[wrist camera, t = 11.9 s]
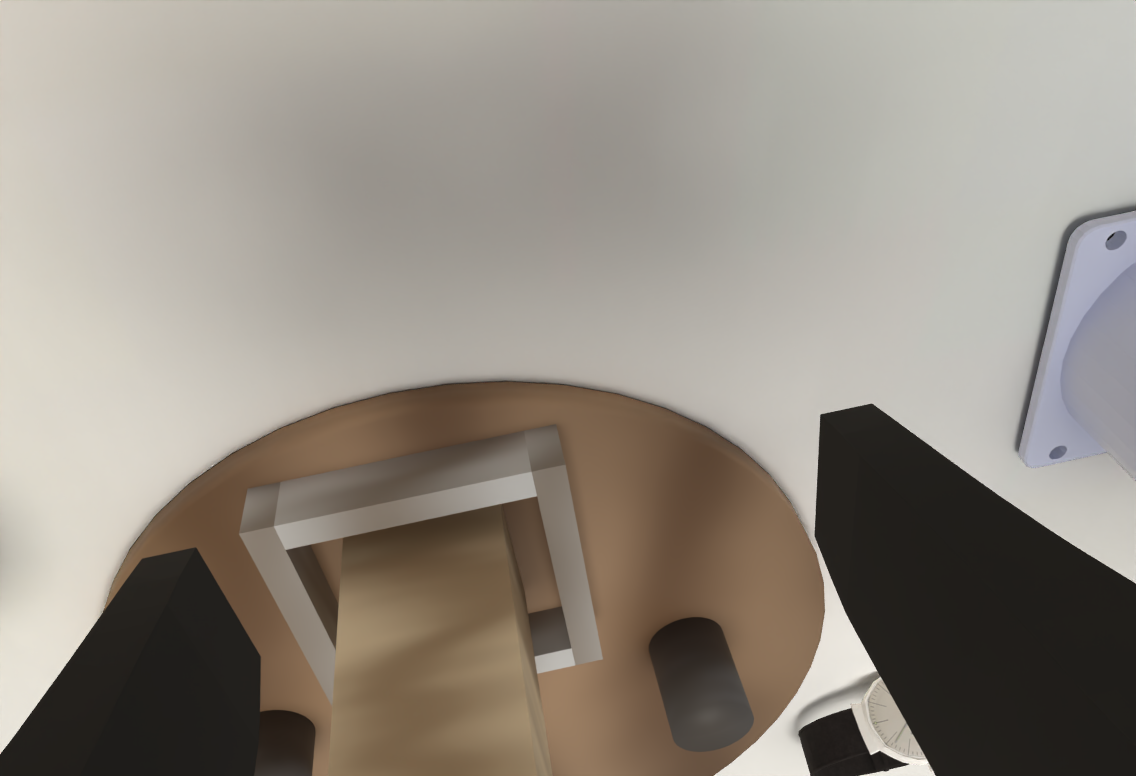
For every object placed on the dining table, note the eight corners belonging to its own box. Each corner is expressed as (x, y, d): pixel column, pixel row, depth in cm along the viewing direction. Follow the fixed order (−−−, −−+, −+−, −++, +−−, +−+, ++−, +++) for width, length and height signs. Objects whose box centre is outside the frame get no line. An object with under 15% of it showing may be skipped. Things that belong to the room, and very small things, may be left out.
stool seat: (826, 302, 22) (899, 400, 19) (804, 763, 35) (844, 865, 32) (-65, 487, 21) (-146, 621, 18) (259, 887, 34) (246, 1004, 31)
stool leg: (498, 490, 23) (538, 787, 16) (524, 590, 25) (568, 882, 19) (343, 523, 22) (323, 836, 16) (385, 620, 25) (382, 925, 19)
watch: (990, 636, 32) (1048, 724, 30) (979, 706, 35) (1030, 792, 32) (787, 688, 32) (825, 782, 29) (792, 754, 35) (827, 845, 32)
